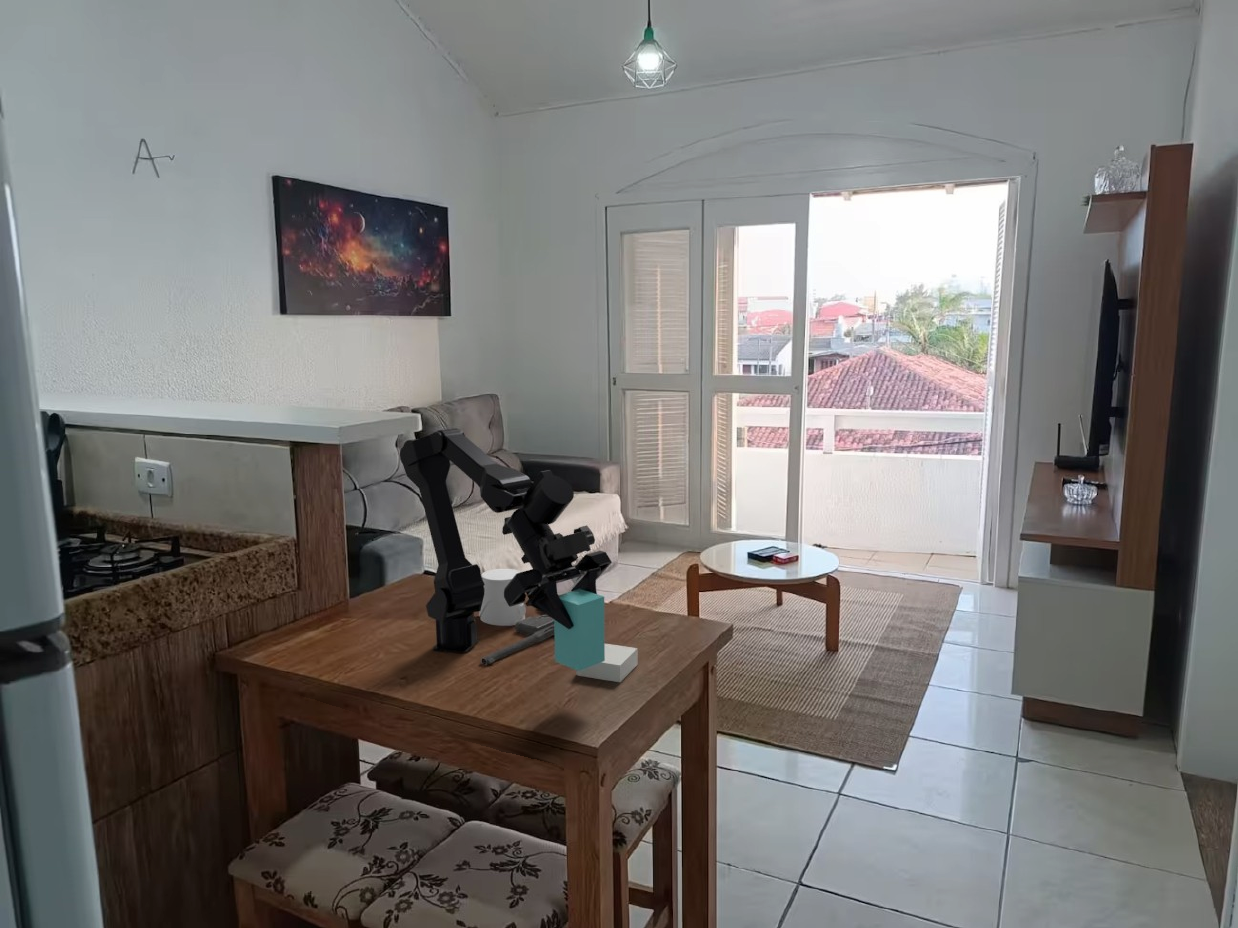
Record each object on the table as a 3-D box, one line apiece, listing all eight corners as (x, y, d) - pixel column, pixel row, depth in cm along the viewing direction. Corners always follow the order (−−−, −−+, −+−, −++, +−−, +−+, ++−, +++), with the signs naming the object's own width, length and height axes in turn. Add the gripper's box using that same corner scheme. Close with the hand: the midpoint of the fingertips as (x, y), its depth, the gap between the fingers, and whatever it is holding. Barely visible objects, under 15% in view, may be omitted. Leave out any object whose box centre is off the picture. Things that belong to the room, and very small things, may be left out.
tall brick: (554, 661, 137) (553, 596, 135) (580, 651, 141) (579, 588, 139) (579, 671, 133) (578, 604, 131) (604, 660, 137) (604, 596, 135)
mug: (532, 571, 175) (510, 582, 168) (533, 616, 177) (511, 628, 170) (483, 564, 181) (459, 574, 174) (484, 607, 182) (461, 619, 175)
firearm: (548, 609, 184) (603, 621, 175) (436, 656, 161) (492, 673, 152) (547, 594, 184) (602, 605, 174) (434, 639, 161) (490, 655, 151)
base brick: (576, 675, 148) (576, 658, 147) (595, 658, 155) (595, 642, 155) (620, 682, 145) (620, 665, 144) (637, 664, 152) (637, 648, 152)
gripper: (513, 521, 129) (565, 610, 123) (603, 502, 142) (653, 581, 136) (482, 563, 136) (530, 649, 130) (571, 540, 149) (617, 617, 143)
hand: (585, 622), depth 135 cm, fingers closed on tall brick, 5 cm apart
